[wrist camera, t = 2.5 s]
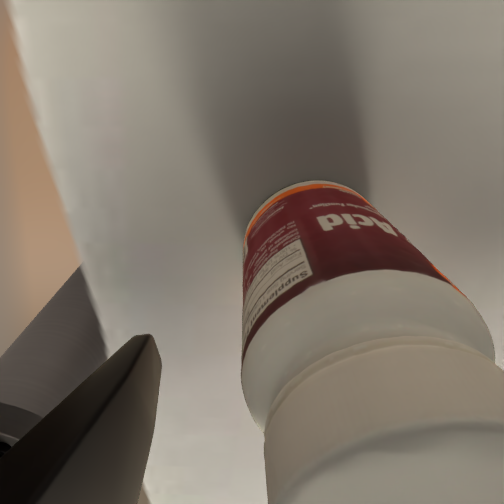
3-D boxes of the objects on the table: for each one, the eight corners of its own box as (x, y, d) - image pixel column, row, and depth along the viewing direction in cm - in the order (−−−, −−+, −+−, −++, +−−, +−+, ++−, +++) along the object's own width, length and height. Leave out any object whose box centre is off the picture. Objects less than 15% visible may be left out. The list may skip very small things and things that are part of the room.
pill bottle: (406, 220, 11) (708, 482, 4) (323, 316, 13) (427, 619, 6) (291, 147, 10) (419, 330, 3) (217, 264, 12) (179, 564, 5)
